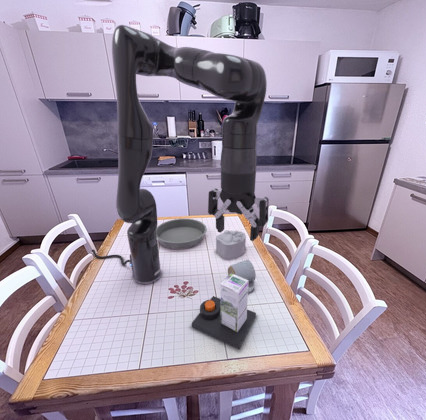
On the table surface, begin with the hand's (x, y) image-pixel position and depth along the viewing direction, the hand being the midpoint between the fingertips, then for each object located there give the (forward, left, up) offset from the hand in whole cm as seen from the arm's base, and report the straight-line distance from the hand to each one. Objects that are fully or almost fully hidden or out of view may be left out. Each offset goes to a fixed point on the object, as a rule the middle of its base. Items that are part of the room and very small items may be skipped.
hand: (236, 235), depth 56 cm
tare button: (-8, 0, -27) cm, 28 cm away
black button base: (-3, 0, -30) cm, 30 cm away
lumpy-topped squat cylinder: (-18, +35, -30) cm, 50 cm away
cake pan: (-45, +34, -30) cm, 64 cm away
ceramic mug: (-5, +18, -30) cm, 36 cm away
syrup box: (0, 0, -29) cm, 29 cm away
